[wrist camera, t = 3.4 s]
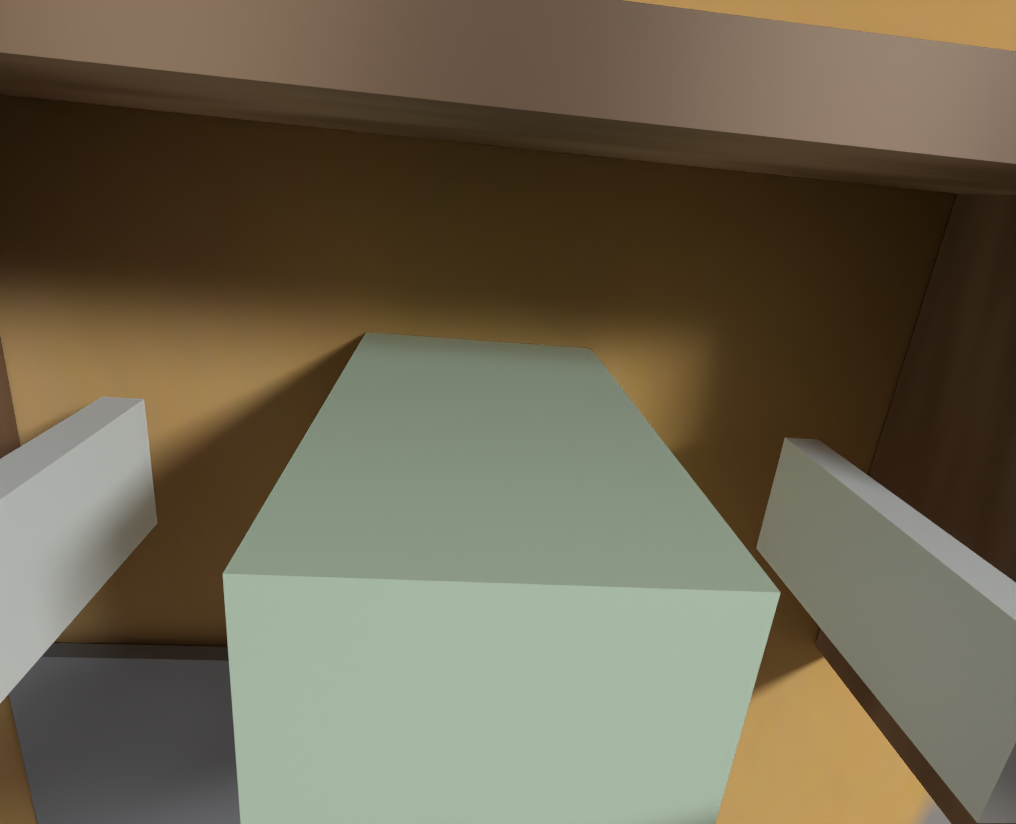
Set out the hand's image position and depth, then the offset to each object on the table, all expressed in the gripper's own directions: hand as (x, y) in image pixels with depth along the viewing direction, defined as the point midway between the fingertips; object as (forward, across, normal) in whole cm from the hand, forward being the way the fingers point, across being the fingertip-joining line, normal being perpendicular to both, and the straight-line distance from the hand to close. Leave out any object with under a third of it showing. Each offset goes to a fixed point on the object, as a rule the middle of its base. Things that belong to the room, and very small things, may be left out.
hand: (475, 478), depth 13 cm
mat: (+2, -6, -11) cm, 13 cm away
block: (+2, 0, 0) cm, 2 cm away
